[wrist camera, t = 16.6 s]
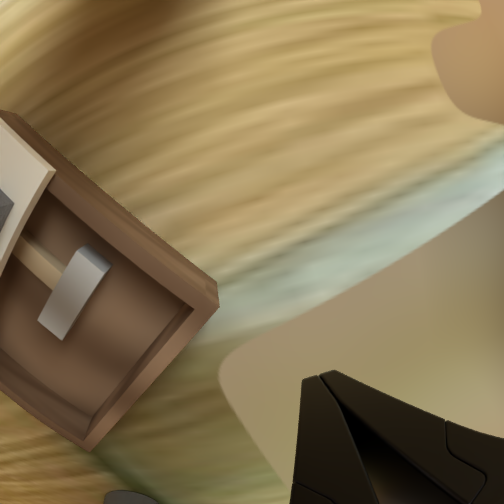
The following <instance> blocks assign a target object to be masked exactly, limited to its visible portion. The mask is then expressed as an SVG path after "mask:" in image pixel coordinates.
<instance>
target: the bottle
mask: <svg viewBox="0 0 504 504" xmlns="http://www.w3.org/2000/svg"><path fill="white" fill-rule="evenodd" d="M103 504H159V503H158V502H156V501H155V500H153V499H152V498H149V497H147V496H145V495H142V494H139V493H135V492H130V491H112V492H109V493H107V494H106V496H105V499H104V503H103Z"/></svg>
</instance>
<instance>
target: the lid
mask: <svg viewBox="0 0 504 504" xmlns="http://www.w3.org/2000/svg"><path fill="white" fill-rule="evenodd" d="M55 172H56V170H55V169H54V168H53V167H52V166H51V165H50V164H49V163H48V162H46V161H45V160H44V159H43V158H42V157H41V156H40V155H39V154H38V153H37V152H36V151H35V150H33V149H32V148H31V147H30V146H29V145H28V144H27V143H26V142H25V141H24V140H23V139H22V138H21V137H20V136H19V135H18V134H17V133H16V132H15V131H14V130H12V129H11V128H10V127H9V126H8V125H7V124H6V123H5V122H4V121H3V120H2V119H1V118H0V277H1V274H2V272H3V269H4V267H5V265H6V263H7V260H8V258H9V256H10V254H11V252H12V250H13V247H14V245H15V243H16V241H17V239H18V237H19V235H20V233H21V231H22V229H23V227H24V225H25V224H26V222H27V220H28V218H29V216H30V214H31V212H32V211H33V209H34V207H35V205H36V203H37V202H38V200H39V198H40V196H41V195H42V193H43V191H44V190H45V188H46V186H47V185H48V183H49V181H50V180H51V178H52V177H53V175H54V173H55Z"/></svg>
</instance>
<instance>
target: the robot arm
mask: <svg viewBox="0 0 504 504" xmlns="http://www.w3.org/2000/svg"><path fill="white" fill-rule="evenodd" d="M289 504H504V438H500V437H495V436H492V435H488V434H485V433H481V432H478V431H475V430H472V429H469V428H466V427H464V426H461V425H458V424H456V423H453V422H451V421H448V420H447V421H446V422H445V419H443V418H441V417H438V416H436V415H433V414H431V413H429V412H426V411H423V410H421V409H419V408H417V407H415V406H412V405H410V404H407V403H405V402H403V401H401V400H399V399H396V398H394V397H392V396H390V395H387V394H385V393H383V392H381V391H379V390H376V389H374V388H372V387H370V386H368V385H366V384H364V383H362V382H359V381H357V380H355V379H353V378H351V377H349V376H347V375H345V374H343V373H341V372H339V371H336V370H331V371H328V372H325V373H321V374H320V375H319V376H317V375H315V376H311V377H308V378H305V379H303V380H302V385H301V399H300V413H299V423H298V435H297V445H296V456H295V465H294V474H293V484H292V489H291V497H290V503H289Z"/></svg>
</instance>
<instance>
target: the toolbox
mask: <svg viewBox="0 0 504 504" xmlns="http://www.w3.org/2000/svg"><path fill="white" fill-rule="evenodd" d="M0 118H1V119H2V120H3V121H4V122H5V123H6V124H7V125H8V126H9V127H10V128H11V129H12V130H14V131H15V132H16V133H17V134H18V135H19V136H20V137H21V138H22V139H23V140H24V141H25V142H26V143H27V144H28V145H29V146H30V147H31V148H32V149H33V150H35V151H36V152H37V153H38V154H39V155H40V156H41V157H42V158H43V159H44V160H45V161H46V162H48V163H49V164H50V165H51V166H52V167H53V168H54V169H55V170H56V172H55V173H54V175H53V177H52V178H51V180H50V181H49V183H48V185H47V186H46V188H45V190H44V191H43V193H42V195H41V196H40V198H39V200H38V202H37V203H36V205H35V207H34V209H33V211H32V212H31V214H30V216H29V218H28V220H27V222H26V224H25V225H24V227H23V229H22V231H21V233H20V235H19V237H18V239H17V241H16V243H15V245H14V247H13V250H12V252H11V254H10V256H9V258H8V260H7V263H6V265H5V267H4V269H3V272H2V274H1V277H0V390H1V391H2V392H3V393H5V394H6V395H7V396H8V397H10V398H11V399H12V400H13V401H14V402H16V403H17V404H18V405H20V406H21V407H22V408H23V409H25V410H26V411H27V412H29V413H30V414H31V415H33V416H34V417H35V418H37V419H38V420H40V421H41V422H42V423H44V424H45V425H47V426H48V427H50V428H51V429H53V430H54V431H56V432H57V433H59V434H60V435H62V436H63V437H65V438H66V439H68V440H70V441H71V442H73V443H74V444H76V445H78V446H79V447H81V448H83V449H84V450H86V451H88V452H90V451H91V450H92V449H93V448H94V447H95V446H96V445H97V444H98V443H99V441H100V440H101V439H102V438H103V437H104V436H105V435H106V434H107V433H108V432H109V430H110V429H111V428H112V427H113V426H114V425H115V424H116V423H117V422H118V421H119V419H120V418H121V417H122V416H123V415H124V414H125V413H126V412H127V411H128V409H129V408H130V407H131V406H132V405H133V404H134V403H135V402H136V401H137V399H138V398H139V397H140V396H141V395H142V394H143V393H144V392H145V390H146V389H147V388H148V387H149V386H150V385H151V384H152V383H153V382H154V380H155V379H156V378H157V377H158V376H159V375H160V374H161V373H162V371H163V370H164V369H165V368H166V367H167V366H168V365H169V364H170V362H171V361H172V360H173V359H174V358H175V357H176V356H177V355H178V353H179V352H180V351H181V350H182V349H183V348H184V347H185V346H186V344H187V343H188V342H189V341H190V340H191V339H192V338H193V337H194V335H195V334H196V333H197V332H198V331H199V330H200V329H201V327H202V326H203V325H204V324H205V323H206V322H207V321H208V319H209V318H210V317H211V316H212V315H213V314H214V313H215V312H216V310H217V309H218V308H219V307H220V306H219V298H218V290H217V282H216V281H215V280H213V279H212V278H211V277H210V276H208V275H207V274H206V273H204V272H203V271H202V270H200V269H199V268H198V267H197V266H195V265H194V264H193V263H191V262H190V261H189V260H188V259H186V258H185V257H184V256H183V255H181V254H180V253H179V252H177V251H176V250H175V249H174V248H172V247H171V246H170V245H169V244H167V243H166V242H165V241H164V240H162V239H161V238H160V237H159V236H157V235H156V234H155V233H154V232H152V231H151V230H150V229H149V228H148V227H146V226H145V225H144V224H143V223H141V222H140V221H139V220H138V219H137V218H135V217H134V216H133V215H132V214H130V213H129V212H128V211H127V210H126V209H124V208H123V207H122V206H121V205H120V204H118V203H117V202H116V201H115V200H114V199H112V198H111V197H110V196H109V195H108V194H106V193H105V192H104V191H103V190H102V189H101V188H99V187H98V186H97V185H96V184H95V183H94V182H92V181H91V180H90V179H89V178H88V177H87V176H85V175H84V174H83V173H82V172H81V171H80V170H78V169H77V168H76V167H75V166H74V165H73V164H72V163H70V162H69V161H68V160H67V159H66V158H65V157H64V156H63V155H61V154H60V153H59V152H58V151H57V150H56V149H55V148H54V147H52V146H51V145H50V144H49V143H48V142H47V141H46V140H45V139H44V138H42V137H41V136H40V135H39V134H38V133H37V132H36V131H35V130H34V129H33V128H31V127H30V126H29V125H28V124H27V123H26V122H25V121H24V120H23V119H22V118H21V117H20V116H18V115H17V114H15V113H11V112H7V111H3V110H0Z"/></svg>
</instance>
